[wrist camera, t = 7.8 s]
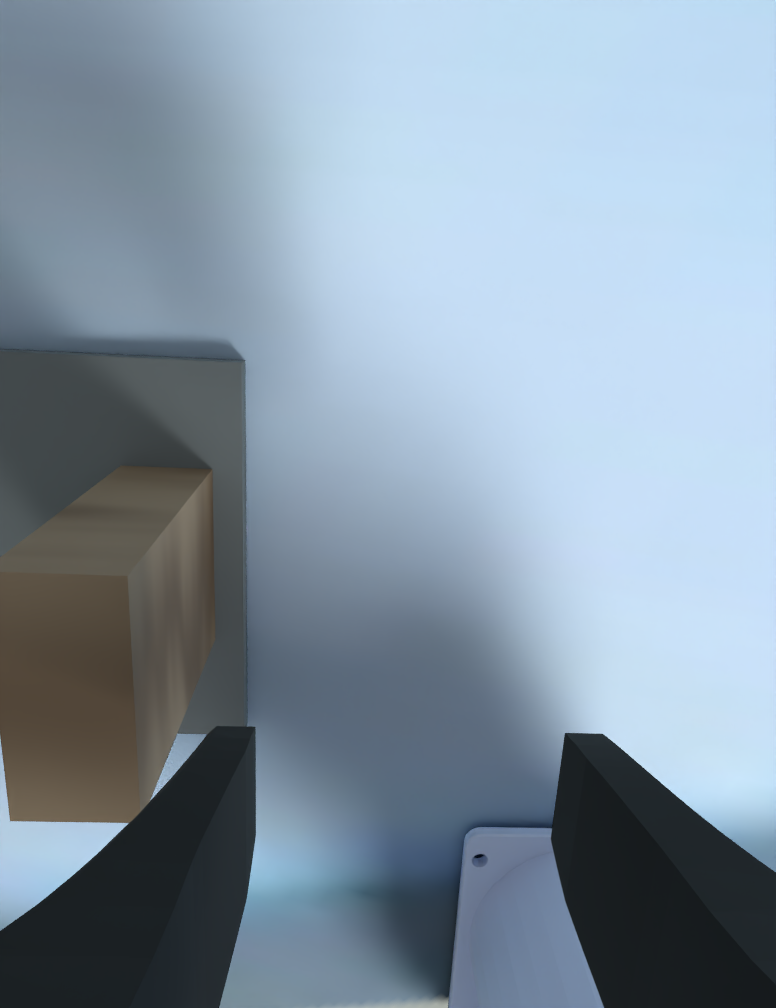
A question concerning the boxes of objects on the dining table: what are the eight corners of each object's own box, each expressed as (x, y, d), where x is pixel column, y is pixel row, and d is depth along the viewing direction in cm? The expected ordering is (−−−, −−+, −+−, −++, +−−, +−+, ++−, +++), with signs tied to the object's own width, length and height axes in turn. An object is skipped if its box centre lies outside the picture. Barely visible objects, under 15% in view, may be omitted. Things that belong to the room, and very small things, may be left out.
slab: (215, 638, 21) (140, 822, 14) (126, 636, 21) (4, 821, 14) (212, 469, 20) (127, 575, 12) (117, 465, 19) (-25, 571, 12)
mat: (247, 723, 22) (244, 734, 22) (-124, 715, 22) (-137, 726, 21) (245, 360, 19) (241, 362, 19) (-188, 340, 19) (-204, 342, 18)
